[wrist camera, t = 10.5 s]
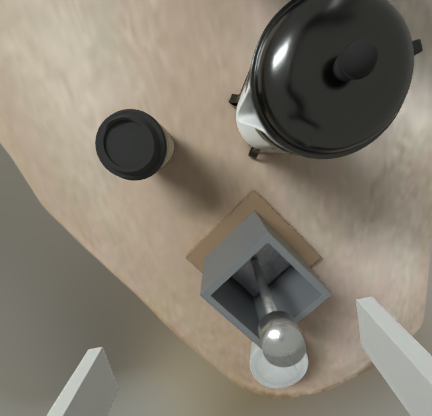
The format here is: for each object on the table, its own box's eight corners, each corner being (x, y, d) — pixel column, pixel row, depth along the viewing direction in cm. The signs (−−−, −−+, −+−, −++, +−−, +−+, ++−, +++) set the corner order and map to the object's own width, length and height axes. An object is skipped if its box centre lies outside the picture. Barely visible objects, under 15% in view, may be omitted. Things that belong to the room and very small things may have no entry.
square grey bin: (253, 189, 48) (269, 205, 33) (317, 253, 50) (357, 294, 36) (186, 255, 50) (174, 295, 36) (251, 312, 53) (263, 371, 39)
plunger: (255, 225, 46) (287, 288, 25) (291, 260, 47) (351, 348, 26) (217, 261, 47) (217, 349, 26) (253, 294, 49) (281, 403, 28)
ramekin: (309, 333, 54) (319, 352, 49) (284, 374, 56) (291, 396, 51) (261, 313, 53) (266, 331, 48) (238, 355, 56) (240, 376, 50)
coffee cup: (187, 163, 47) (173, 169, 32) (140, 179, 47) (106, 192, 33) (169, 113, 45) (146, 94, 30) (121, 130, 45) (75, 120, 31)
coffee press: (289, 178, 47) (407, 222, 18) (211, 135, 46) (201, 108, 16) (342, 87, 44) (595, -41, 15) (260, 38, 42) (358, -216, 13)
